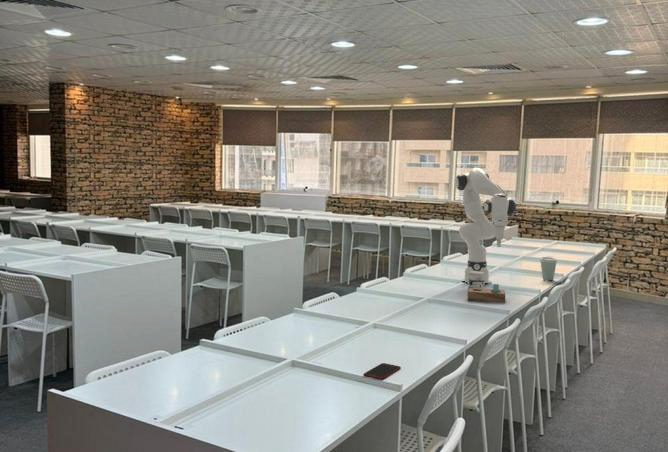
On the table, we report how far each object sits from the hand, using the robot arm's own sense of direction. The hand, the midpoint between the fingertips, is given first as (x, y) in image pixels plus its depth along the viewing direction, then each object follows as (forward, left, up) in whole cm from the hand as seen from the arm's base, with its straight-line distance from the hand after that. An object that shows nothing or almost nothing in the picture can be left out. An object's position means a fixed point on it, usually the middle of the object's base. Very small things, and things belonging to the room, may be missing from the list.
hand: (498, 245), depth 327 cm
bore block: (+13, -6, -29) cm, 32 cm away
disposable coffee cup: (-62, +34, -29) cm, 77 cm away
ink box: (-9, -12, -29) cm, 33 cm away
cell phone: (+146, -42, -30) cm, 155 cm away
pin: (+13, -1, -28) cm, 31 cm away
